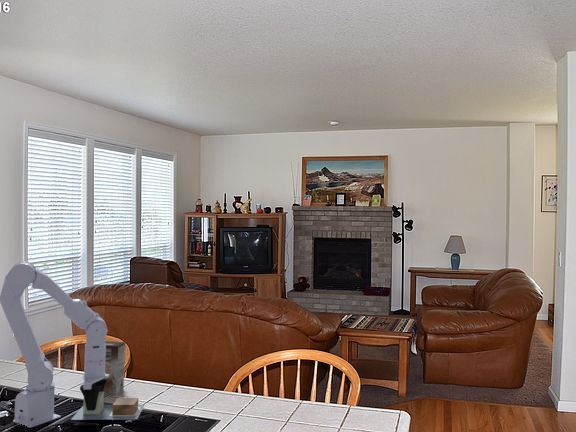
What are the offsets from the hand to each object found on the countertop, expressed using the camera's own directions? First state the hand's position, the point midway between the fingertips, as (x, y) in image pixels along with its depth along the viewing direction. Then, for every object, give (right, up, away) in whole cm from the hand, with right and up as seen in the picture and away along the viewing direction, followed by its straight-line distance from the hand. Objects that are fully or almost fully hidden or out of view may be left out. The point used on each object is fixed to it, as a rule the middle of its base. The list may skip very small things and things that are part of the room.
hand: (93, 406), depth 151 cm
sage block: (0, -1, 0) cm, 1 cm away
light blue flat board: (+4, -2, 0) cm, 5 cm away
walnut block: (+9, -2, +1) cm, 9 cm away
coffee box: (-2, -2, +18) cm, 19 cm away
